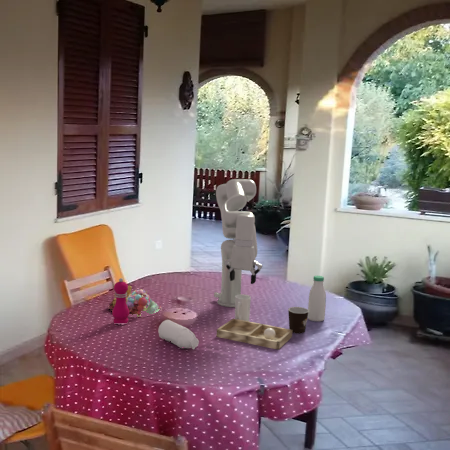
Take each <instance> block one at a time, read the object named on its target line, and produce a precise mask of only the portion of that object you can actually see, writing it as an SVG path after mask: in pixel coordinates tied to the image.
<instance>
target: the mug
mask: <svg viewBox="0 0 450 450" xmlns="http://www.w3.org/2000/svg"><path fill="white" fill-rule="evenodd" d="M251 298H252V297H251V295H248V294H243V293H242V294H241V295H236V296H235V307H234V319H239V320H244V321H249V322H250V315H251V314H250V313H251V300H252V299H251Z"/></svg>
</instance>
